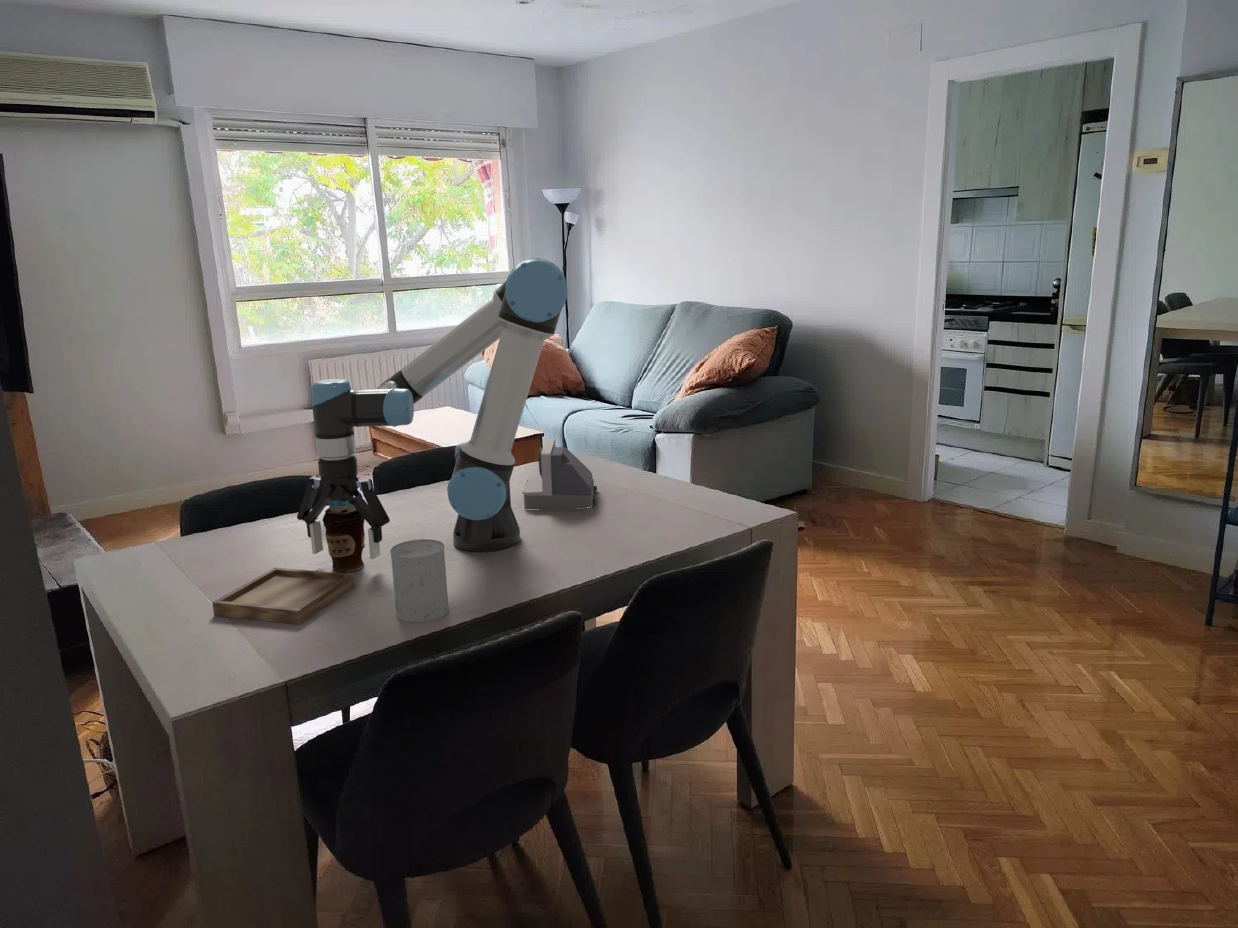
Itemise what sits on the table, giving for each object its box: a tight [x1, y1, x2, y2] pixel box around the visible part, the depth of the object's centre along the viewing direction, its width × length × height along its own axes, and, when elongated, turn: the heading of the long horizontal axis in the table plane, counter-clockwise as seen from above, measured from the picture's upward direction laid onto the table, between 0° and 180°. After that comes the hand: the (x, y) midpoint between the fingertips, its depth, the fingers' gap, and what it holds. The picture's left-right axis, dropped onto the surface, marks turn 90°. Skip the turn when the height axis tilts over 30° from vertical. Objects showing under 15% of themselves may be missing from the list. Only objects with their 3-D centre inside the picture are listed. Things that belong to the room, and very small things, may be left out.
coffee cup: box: [321, 505, 366, 573], centre depth 176 cm, size 9×8×13 cm
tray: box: [212, 567, 356, 625], centre depth 161 cm, size 18×18×3 cm
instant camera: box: [522, 438, 598, 510], centre depth 222 cm, size 21×21×15 cm
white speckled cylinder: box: [389, 538, 450, 623], centre depth 153 cm, size 10×10×12 cm
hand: (346, 554), depth 177 cm, fingers open, 13 cm apart
